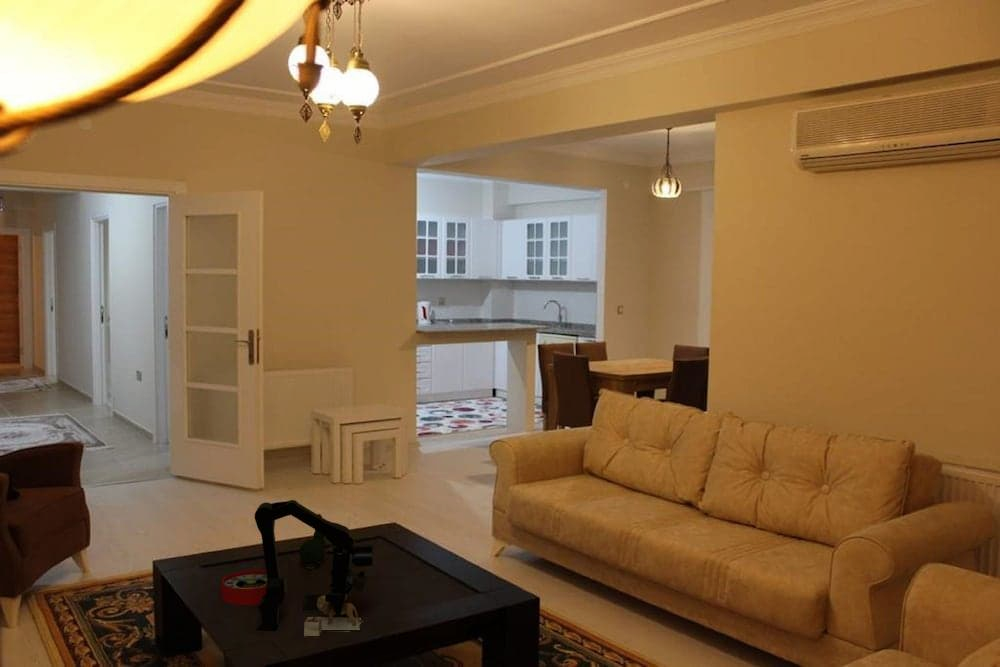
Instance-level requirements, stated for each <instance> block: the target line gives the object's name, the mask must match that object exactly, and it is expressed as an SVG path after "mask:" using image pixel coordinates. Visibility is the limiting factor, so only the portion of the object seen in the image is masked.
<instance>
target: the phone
mask: <svg viewBox="0 0 1000 667" xmlns="http://www.w3.org/2000/svg"><path fill="white" fill-rule="evenodd" d="M321 596H326V594H305V595H303V599H302V602H301V607H300V613H301V612H322V611H321V610H319V609H318V607H317V602H318V598H319V597H321ZM322 613H323V612H322Z"/></svg>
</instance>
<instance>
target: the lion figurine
mask: <svg viewBox="0 0 1000 667" xmlns="http://www.w3.org/2000/svg"><path fill="white" fill-rule="evenodd" d="M317 607H318V609H319V610H321V611H322V614H324V615H328V617H329V620H328V621H329V622H328V625H331V624H332V622H333V617H334V615H336V613H335V611H334V609H333V607H332V605H331V603H330V602H326V601H325V596H321V597H319V598H318V602H317ZM353 613H354V614H355V616H354V614H353ZM345 614H346V616H347V618H350V619H349V620H347V622H350V621H351V620H353V621H354V623H353V624H352V626H356V624H357V623H356V618H357V620H358V621H359V622H363V621H361V620H359V618H360V617H359V615H358V612H357V608H356V607H355V605H354V604H352V603H351V602H345V603H344V604H343V606H342V611H341V616H342V615H345Z"/></svg>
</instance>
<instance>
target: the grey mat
mask: <svg viewBox="0 0 1000 667" xmlns="http://www.w3.org/2000/svg"><path fill="white" fill-rule="evenodd" d="M321 617H322V630H360V628H359V627H360V626H359V625H360V624H361V623H362V622H359V621H358V620H357V618H356V617H355V618H356V623H357V624H356V626H352V624H353V623H354V621H353V620H351V621H350V622H347V620H349V619H350V618H349V617H341V616H340V617H337V616H333V622H332V624H331V625H328V622H329V621H328V620H329V616H321ZM358 618H359V620H361V618H362V617H358Z"/></svg>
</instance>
